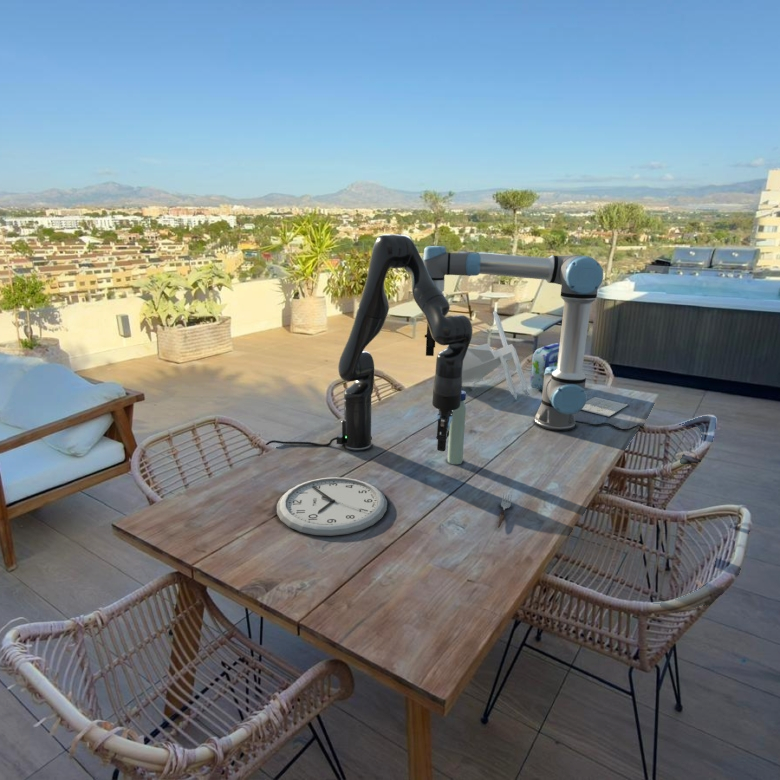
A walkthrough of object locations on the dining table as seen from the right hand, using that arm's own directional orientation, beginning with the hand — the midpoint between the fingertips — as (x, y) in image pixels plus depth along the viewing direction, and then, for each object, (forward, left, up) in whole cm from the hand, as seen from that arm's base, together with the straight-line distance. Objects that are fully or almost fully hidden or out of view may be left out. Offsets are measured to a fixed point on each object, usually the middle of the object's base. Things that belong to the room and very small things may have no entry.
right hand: (430, 351), depth 189 cm
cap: (-10, +27, -7) cm, 30 cm away
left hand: (-6, +49, -15) cm, 52 cm away
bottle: (-10, +27, -30) cm, 42 cm away
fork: (-23, +59, -30) cm, 70 cm away
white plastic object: (-22, -50, -30) cm, 62 cm away
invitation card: (-73, -38, -30) cm, 88 cm away
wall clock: (+23, +61, -30) cm, 72 cm away
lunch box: (-56, -64, -30) cm, 91 cm away
